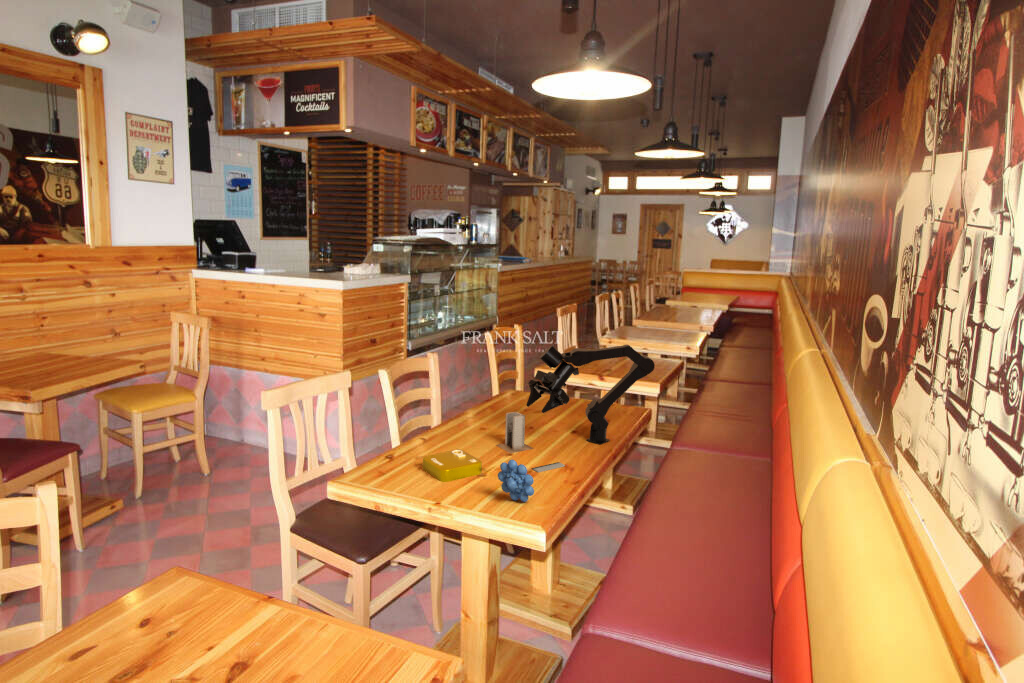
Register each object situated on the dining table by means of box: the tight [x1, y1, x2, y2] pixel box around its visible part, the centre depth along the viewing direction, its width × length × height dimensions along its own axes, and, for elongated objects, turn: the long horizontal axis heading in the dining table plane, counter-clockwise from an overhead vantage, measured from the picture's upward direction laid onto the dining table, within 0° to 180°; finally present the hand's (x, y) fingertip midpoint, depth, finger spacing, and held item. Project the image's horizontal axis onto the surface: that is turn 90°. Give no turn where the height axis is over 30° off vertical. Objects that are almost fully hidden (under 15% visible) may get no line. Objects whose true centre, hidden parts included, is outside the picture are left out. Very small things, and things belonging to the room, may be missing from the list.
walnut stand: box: [495, 435, 535, 454], centre depth 218 cm, size 10×10×5 cm
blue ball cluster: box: [497, 459, 535, 503], centre depth 173 cm, size 12×7×12 cm, turn 62°
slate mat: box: [530, 461, 565, 473], centre depth 204 cm, size 11×11×1 cm
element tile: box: [422, 448, 483, 483], centre depth 197 cm, size 15×15×5 cm
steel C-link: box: [504, 411, 526, 450], centre depth 217 cm, size 4×6×12 cm
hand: (534, 409), depth 220 cm, fingers open, 9 cm apart
